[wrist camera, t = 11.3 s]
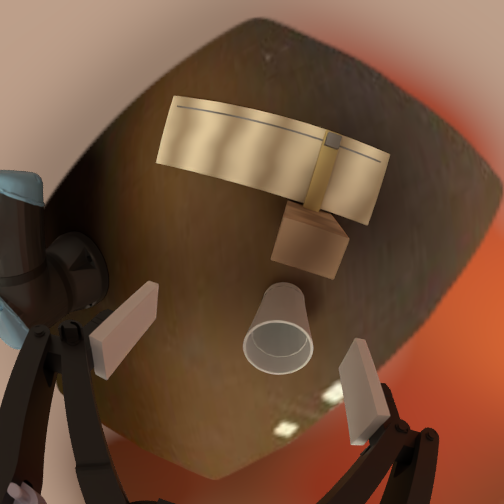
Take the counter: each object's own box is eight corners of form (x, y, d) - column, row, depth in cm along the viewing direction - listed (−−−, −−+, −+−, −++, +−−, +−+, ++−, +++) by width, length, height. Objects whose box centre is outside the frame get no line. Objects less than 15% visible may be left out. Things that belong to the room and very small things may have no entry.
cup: (309, 276, 39) (314, 319, 27) (309, 322, 41) (312, 374, 30) (255, 277, 40) (239, 320, 29) (259, 323, 42) (246, 373, 31)
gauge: (279, 226, 37) (270, 259, 24) (309, 128, 33) (317, 105, 19) (320, 239, 37) (333, 279, 24) (351, 143, 32) (383, 130, 19)
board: (162, 162, 37) (155, 162, 35) (179, 98, 34) (173, 95, 32) (363, 222, 35) (367, 225, 33) (385, 155, 32) (390, 154, 30)
